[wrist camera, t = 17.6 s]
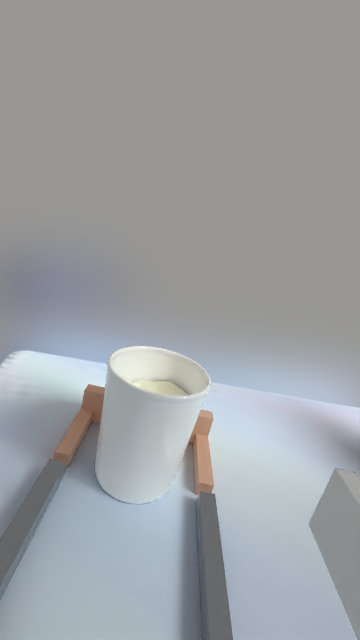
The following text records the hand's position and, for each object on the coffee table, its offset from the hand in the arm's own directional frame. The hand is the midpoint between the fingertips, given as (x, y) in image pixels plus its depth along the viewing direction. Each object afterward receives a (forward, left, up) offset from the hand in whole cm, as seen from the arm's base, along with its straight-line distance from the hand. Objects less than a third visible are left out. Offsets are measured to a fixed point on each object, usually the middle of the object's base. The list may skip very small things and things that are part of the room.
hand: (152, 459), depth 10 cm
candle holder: (0, -16, -16) cm, 23 cm away
